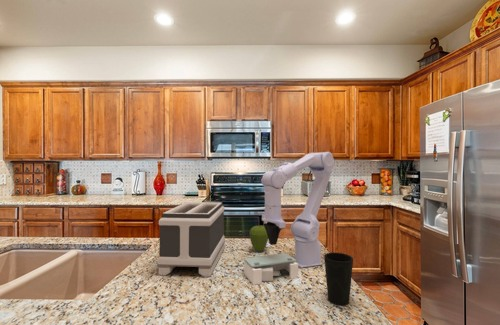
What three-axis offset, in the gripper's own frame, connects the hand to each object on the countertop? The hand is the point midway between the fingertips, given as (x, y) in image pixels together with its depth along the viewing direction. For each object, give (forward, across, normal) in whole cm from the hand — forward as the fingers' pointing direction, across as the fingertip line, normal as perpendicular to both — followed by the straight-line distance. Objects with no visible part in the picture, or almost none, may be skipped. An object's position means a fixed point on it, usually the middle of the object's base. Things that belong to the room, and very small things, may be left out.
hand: (272, 244), depth 91 cm
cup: (+10, +24, +8) cm, 27 cm away
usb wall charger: (+10, +4, -3) cm, 12 cm away
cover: (+5, +2, -2) cm, 6 cm away
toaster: (+10, -23, -22) cm, 34 cm away
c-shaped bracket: (+10, +2, -2) cm, 10 cm away
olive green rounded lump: (+10, -23, +5) cm, 25 cm away
